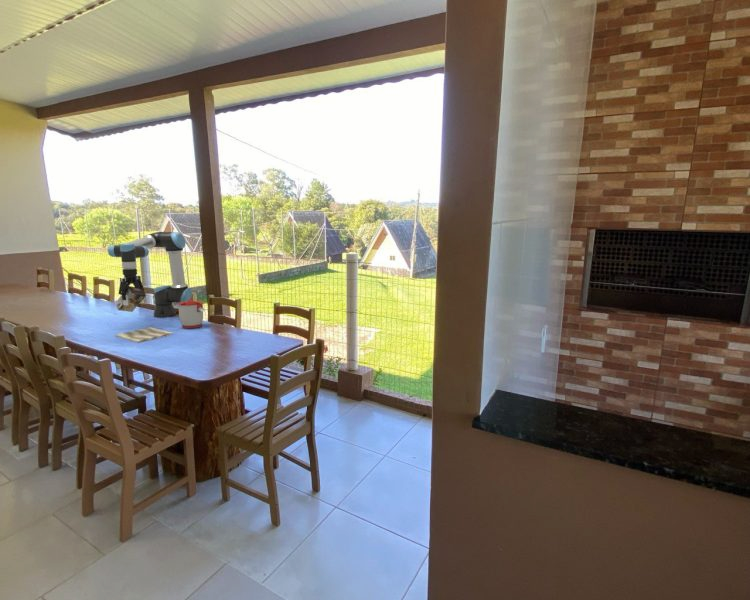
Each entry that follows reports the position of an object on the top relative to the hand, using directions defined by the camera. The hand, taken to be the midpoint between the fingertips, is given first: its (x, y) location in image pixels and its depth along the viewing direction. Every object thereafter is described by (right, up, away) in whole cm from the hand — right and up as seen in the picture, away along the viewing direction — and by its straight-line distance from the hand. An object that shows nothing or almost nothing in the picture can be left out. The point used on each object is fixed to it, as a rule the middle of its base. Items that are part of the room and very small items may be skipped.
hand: (132, 303), depth 236 cm
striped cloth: (+6, -20, +3) cm, 21 cm away
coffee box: (-7, -3, +2) cm, 8 cm away
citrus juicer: (+25, -17, +26) cm, 40 cm away
